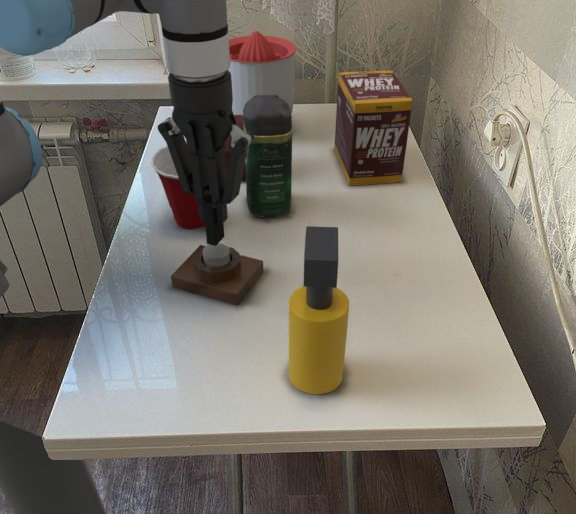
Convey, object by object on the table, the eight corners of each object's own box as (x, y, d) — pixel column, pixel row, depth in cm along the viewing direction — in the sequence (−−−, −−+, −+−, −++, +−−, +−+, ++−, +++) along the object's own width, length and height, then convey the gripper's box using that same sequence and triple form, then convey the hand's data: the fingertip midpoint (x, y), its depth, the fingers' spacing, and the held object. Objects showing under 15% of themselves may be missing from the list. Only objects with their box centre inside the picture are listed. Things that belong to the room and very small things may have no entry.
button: (198, 264, 91) (197, 254, 90) (211, 250, 94) (210, 240, 93) (222, 270, 90) (221, 261, 89) (235, 256, 93) (234, 246, 92)
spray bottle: (290, 349, 83) (291, 222, 70) (342, 351, 83) (353, 224, 69) (287, 393, 77) (287, 264, 64) (343, 395, 77) (355, 266, 64)
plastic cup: (152, 236, 103) (141, 169, 95) (170, 203, 111) (161, 139, 103) (216, 241, 102) (210, 174, 94) (229, 207, 110) (225, 143, 102)
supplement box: (348, 186, 116) (354, 103, 105) (333, 150, 127) (337, 71, 116) (402, 183, 116) (414, 100, 106) (383, 147, 128) (391, 68, 117)
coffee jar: (294, 218, 107) (295, 112, 94) (248, 221, 107) (243, 115, 94) (288, 191, 114) (288, 89, 101) (245, 193, 114) (240, 91, 101)
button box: (172, 287, 93) (168, 265, 90) (201, 256, 99) (199, 234, 96) (237, 306, 90) (236, 284, 87) (263, 272, 96) (263, 250, 93)
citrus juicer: (211, 119, 137) (203, 21, 124) (288, 113, 140) (288, 17, 126) (218, 150, 126) (210, 46, 112) (302, 144, 129) (303, 41, 115)
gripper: (262, 68, 74) (267, 236, 90) (168, 54, 78) (189, 218, 94) (233, 90, 69) (244, 264, 85) (135, 73, 73) (163, 243, 89)
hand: (215, 240), depth 89 cm, fingers closed
